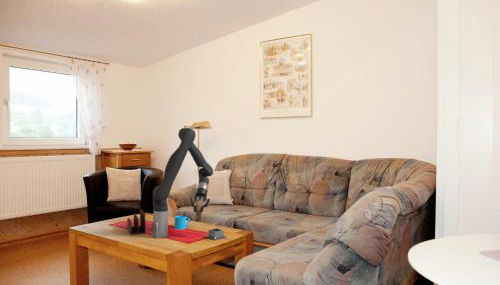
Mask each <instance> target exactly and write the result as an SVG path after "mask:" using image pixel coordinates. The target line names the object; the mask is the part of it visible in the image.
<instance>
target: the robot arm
mask: <svg viewBox="0 0 500 285" xmlns="http://www.w3.org/2000/svg"><path fill="white" fill-rule="evenodd" d="M177 134H178V135H177V136H178V138H179V140H180V144H179V145H178V147H177V148H176V149H175V151H174V152H172V154H171V155H170V157H169V159H168V160H167V163H166V165H165V168H164V171H163V172H164V173H163V177H162V180H161V182H160V184H159V185H156V186H155V187H154V189H153V190H152V206H153V220H152V222H151V236H152V237H153V238H154V239H163V238H167V237H168V235H169V234H168V228H169V222H168V221H169V217H168V216H169V206H168V198H169V196H170V193H171V190H172V186H173V184H174V182H175V180H176V178H177V176H178V173H179V171H180V170H181V167H182V165H183V163H184V161H185V159H186V157H187V156H186V155H187V154H188V153H189V154H190V155H191V157H192V159H193V161H194V163H195V165H196V167H198V168H199V169H198V171H197V172H198V173H197V175H198V182H197V183H198V184H197V186H196V191H195V196H194V197H190V199H189V200H190V204H191V206H192V209H193V212H194V213H196V200H197V199H201V200H202V206H201V214H202V213H203V212H204V208H208V206H209V204H210V203H211V198H208V197H207V196H208V192H209V184H210V179H209V177H212V176H213V175H214V169H213V168H212V165H210V164H209V163H208V162H207V161H206V159H205V157H204V155H203V153H202V152H201V150H200V149H199V148H198V147H197V145H196V144H195V143H194V141H195V139H196V131H195V130H194V129H192V128H188V127H182V128H181V129H179V131H178V133H177ZM194 201H195V203H194Z"/></svg>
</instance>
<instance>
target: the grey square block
mask: <svg viewBox="0 0 500 285" xmlns="http://www.w3.org/2000/svg"><path fill="white" fill-rule="evenodd" d="M207 232H208V233H207V234H208V235H205V238H206V237H207V238H206V239H209V240H212V241H218V240H223V239H224V240H225V239H227V238H228V237H227V236H226V235H225V234H224V233H225V230H224V229H221V228H218V227H216V228H211V229H208V231H207Z"/></svg>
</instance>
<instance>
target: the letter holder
mask: <svg viewBox="0 0 500 285" xmlns="http://www.w3.org/2000/svg"><path fill="white" fill-rule="evenodd" d="M126 220H127V221H126V222H127V223H126V229H127V231H128V233H129V235H130V236H135V235H136V236H137V235H146V234H147V233H146V232H147V231H146V230H147V229H146V228H147V227H146V223H147V221H146V214H145V211H144V210H142V209H139V217H138V215H137V214H136V213H134V214H133V223H132V220H131V219H130V218H129V217H127V219H126Z"/></svg>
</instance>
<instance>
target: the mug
mask: <svg viewBox="0 0 500 285" xmlns="http://www.w3.org/2000/svg"><path fill="white" fill-rule="evenodd" d="M187 219H188V223H187ZM190 223H191V219H190V218H189V217H187V216H186V215H176V216H174V229H175V230H185V229H186V228H187V227H188V226H189V225H190Z"/></svg>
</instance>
